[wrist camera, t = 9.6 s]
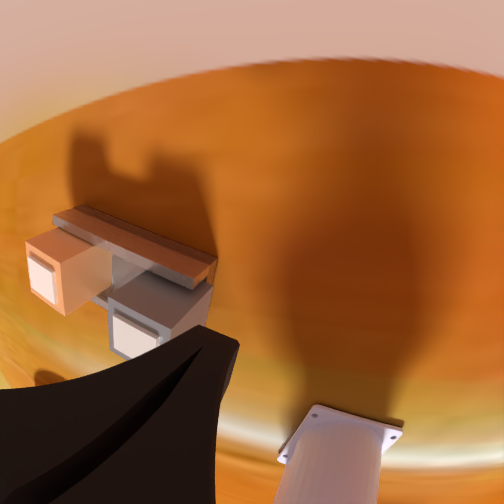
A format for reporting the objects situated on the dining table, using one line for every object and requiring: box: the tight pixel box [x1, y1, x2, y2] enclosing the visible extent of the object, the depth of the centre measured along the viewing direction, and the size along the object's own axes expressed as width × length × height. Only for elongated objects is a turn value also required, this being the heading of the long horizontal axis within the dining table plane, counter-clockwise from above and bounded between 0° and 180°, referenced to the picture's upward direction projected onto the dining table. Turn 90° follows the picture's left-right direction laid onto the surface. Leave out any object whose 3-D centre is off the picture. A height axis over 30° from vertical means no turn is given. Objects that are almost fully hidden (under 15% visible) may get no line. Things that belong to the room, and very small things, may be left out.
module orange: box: [25, 227, 112, 317], centre depth 19 cm, size 4×4×5 cm
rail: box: [53, 205, 218, 310], centre depth 20 cm, size 6×12×3 cm, turn 75°
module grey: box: [108, 270, 214, 360], centre depth 18 cm, size 4×4×5 cm
